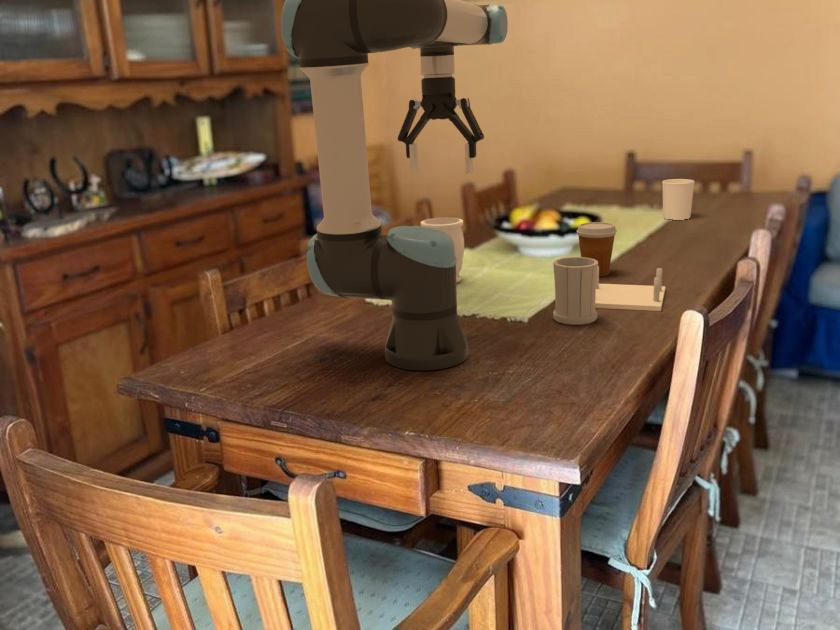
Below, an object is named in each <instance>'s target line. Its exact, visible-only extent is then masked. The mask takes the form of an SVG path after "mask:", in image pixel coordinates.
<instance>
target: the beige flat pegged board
mask: <svg viewBox="0 0 840 630" xmlns="http://www.w3.org/2000/svg"><path fill="white" fill-rule="evenodd" d="M653 278H654V279H653V285H645V284H644V285H640V284H619V283H618V284H617V283H616V284H615V283H600V277H599V266H598V270H597V281H596V295H595V309H608V310H609V309H612V310H613V309H614V310H632V311H649V312H650V311H651V312H652V311H654V312H661V311H662V308H663V302H664V298H665V292H666V286H664V285H663V268H662V267H658V268H656V276H655V277H653Z"/></svg>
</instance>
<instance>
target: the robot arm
mask: <svg viewBox="0 0 840 630" xmlns="http://www.w3.org/2000/svg"><path fill="white" fill-rule="evenodd" d="M508 26H509V24H508V15H507V9H506V8H505V7H504V6H503V5H502V4H499V3H498V4H497V3H496V4H491V3H488V4H475V3H470V2H465V1H462V0H284V3H283V6H282V10H281V17H280V33H281V39H282V42H283V44H284V45H285V50H286V51H287V52H288V53H289V55H290V56H292V57H294V58H295V59H296V58H297V59H298V64H299V70H300V71H301V72H302V73H303V74H305V75H306V76H307V77H308V79H309V82H310V92H311V104H312V112H313V113H312V114H313V121H314V122H313V123H314V131H315V133H314V134H315V142H316V151H317V152H316V153H317V160H318V172H319V180H320V181H319V182H320V191H321V200H322V201H321V202H322V209H323V210H322V211H323V212H322V213H323V218H322V220H321V221H320V222H319V223H318V224H317V226H316V233H315V234H314V235H313V236H312V237H311V238H310V239H309V241H308V245H307V248H308V251H307V252H306V266H307V271H308V273H309V277H310V280H311V282H312V284H313V285H314V287H315V288H316V289H317V290H319V291H320V293H322V294H325V295H326V296H333V297H338V298H341V299H349V298H351V299H352V298H353V299H366V300H367V299H368V300H369V299H370V300H381V301H382V300H386V301H391V308H392V309H391V311H392V312H391V313H392V319H391V323H390V326H389V330H388V334H387V338H386V342H385V345H384V357H385V361H386V362H387V363H388V364H389V365H390V366H393V367H395V368H397V369H398V368H399V369H403V370H409V371H435V370H442V369H448V368H451V367H454V366H457V365H459V364H461V363H463V362H465V361H467V359H468V358H469V343H468V340H467V337H466V334H465V332H464V329H463V327H462V324H461V321H460V319H459V315H458V300H457V299H458V298H457V297H458V296H457V295H458V293H457V290H458V289H457V283H456V261H457V260H456V257H455V249H454V242H453V239H452V238H451V237H450V236H449V235H448V234H447V233H445V232H443V231H441V230H438V229H434V228H429V227H422V226H421V225H420V226H419V225H412V226H409V225H401V226H400V225H399V226H396V227H393V228H390V229H389V231H388V233H387V234H383V232H382V230H383V229H382V222H381V220H379V219H378V218H377V217H376V216H375V215H374V214H373V213H372V212H373V211H372V201H371V198H372V197H371V189H370V187H371V185H370V176H369V161H368V150H367V149H368V148H367V138H366V125H365V115H364V114H365V113H364V102H363V91H362V77H361V76H362V74H363V73H364V71H366V69H367V67H368V66H369V54H375V53H384V52H386V53H387V52H392V51H396V50H401V49H406V48H411V49H414V50H415V49H419V52H420V53H419V55H420V75H421V76H423V78H421V82H420V84H421V96H422V97H421V100H417V99H416V98H415V99H410V100H409V101H408V111H407V113H406V116H405V118H404V120H403V123H402V126H401V128H400V131H399V134H398V135H397V141H399V142H401V143H403V144H405V152H406V153H405V155H406V158H407V159H409V165H410V167H409V168H410V174H415V173H418V172H419V165H418V164H419V160H418V158H419V157H418V143H415V140H416V139H417V138H418V136H419V135H420V133H421V132H422V130H423V129H424V128H425V127H426V125H427V124H428V122H429V121H430V120H432V121H434V120H449V121H450V122H451V123H452V124H453V126H454V127H455V128H456V130H458V131H459V133H460V134H461V135H462V137H463V138H464V139H465V140H466V141H467V143H465V144H464V156H465V157H464V159H465V174H471V173H474V172H473V171H474V168H473V167H474V165H473V161H474V160H473V159H474V158H476V157H477V143H478V142H479V141H480V142H481V141H482V140H484V139H485V135H484V133H483V131H482V128H481V127H480V125H479V122H478V120H477V119H476V116H475V114H474V112H473V110H472V108H471V103H470V98H469V97H463V98H461V99H460V98H459V99H457V97H456V78H455V77H454V76H453V75H455V47H457V46H458V47H459V46H481V45H482V46H483V45H485V46H486V45H489V46H490V45H496V44H501V43H504V41H505V40H506V39H507V34H508V28H509V27H508ZM457 106H458V107H459V109H461V111H462V114H463V115H464V117H465V120H466V122H467V124H468V126H469V128H470V129H469V128H468V126H467V125H466V124H465V123H464V121H463V120H462V119H461V118H460V116H459V114H458V113H457V112H456V108H457ZM421 108H422V109H423V111H424V112H423V113H422V114H421V116H420V118H419V119H418V121H417V123H416V124H415V125H414V127H413V128H412V125H413V123H414V121H415V118H416V116H417V112H418V110H420V109H421ZM411 128H412V130H411Z"/></svg>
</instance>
